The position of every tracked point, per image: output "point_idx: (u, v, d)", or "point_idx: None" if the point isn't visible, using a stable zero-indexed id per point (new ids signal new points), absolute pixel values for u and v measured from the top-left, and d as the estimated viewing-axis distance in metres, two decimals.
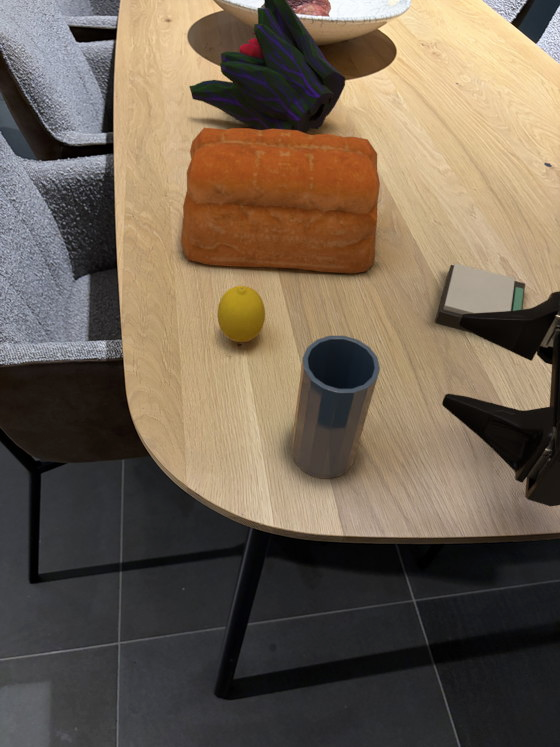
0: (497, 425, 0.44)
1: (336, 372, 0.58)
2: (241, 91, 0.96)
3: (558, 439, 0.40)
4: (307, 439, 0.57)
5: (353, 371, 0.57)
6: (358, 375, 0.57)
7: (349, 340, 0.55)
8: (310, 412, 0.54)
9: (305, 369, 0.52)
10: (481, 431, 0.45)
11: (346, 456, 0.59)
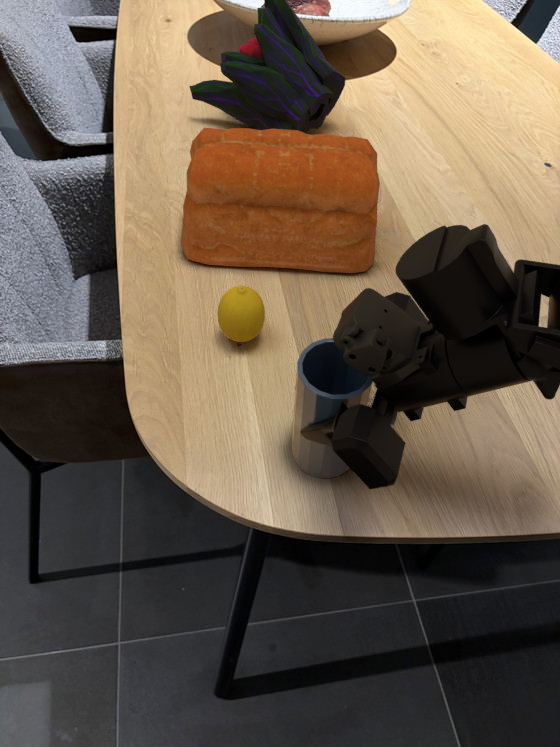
0: None
1: (334, 373, 0.58)
2: (241, 91, 0.96)
3: None
4: (305, 441, 0.57)
5: (350, 373, 0.56)
6: (356, 377, 0.56)
7: None
8: (306, 416, 0.54)
9: (299, 374, 0.52)
10: None
11: None
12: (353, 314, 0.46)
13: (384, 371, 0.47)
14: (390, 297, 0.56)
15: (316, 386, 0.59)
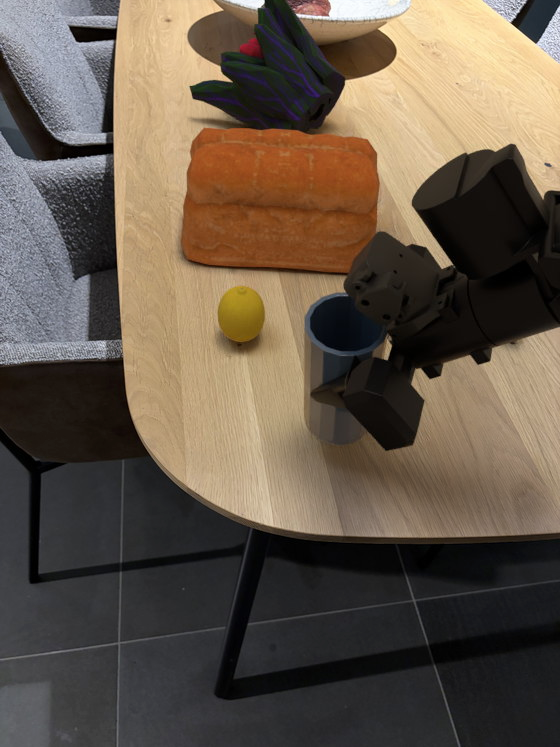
0: None
1: (347, 332, 0.54)
2: (241, 91, 0.96)
3: None
4: (315, 404, 0.54)
5: (365, 331, 0.52)
6: (370, 335, 0.52)
7: None
8: (314, 376, 0.50)
9: (306, 330, 0.48)
10: None
11: (358, 422, 0.55)
12: (365, 257, 0.42)
13: (400, 320, 0.43)
14: None
15: (328, 346, 0.55)
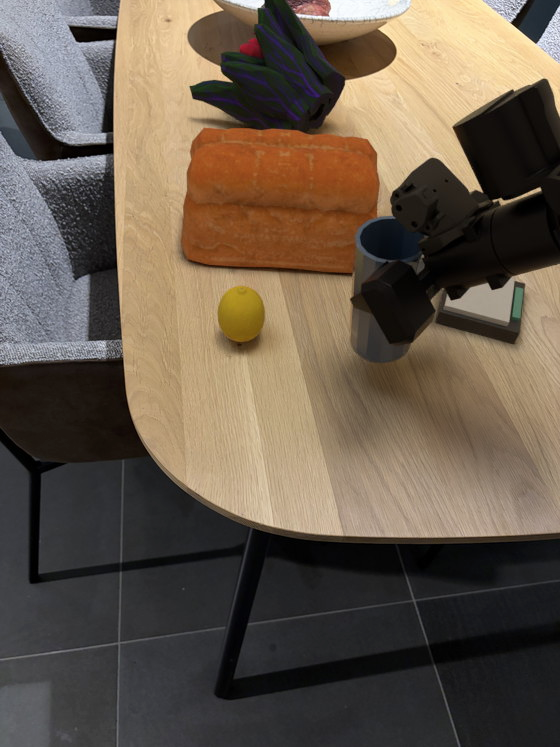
0: None
1: (400, 258, 0.60)
2: (241, 91, 0.96)
3: None
4: (355, 314, 0.61)
5: None
6: None
7: None
8: (356, 283, 0.58)
9: (355, 237, 0.55)
10: None
11: None
12: (411, 172, 0.49)
13: (428, 232, 0.49)
14: None
15: None
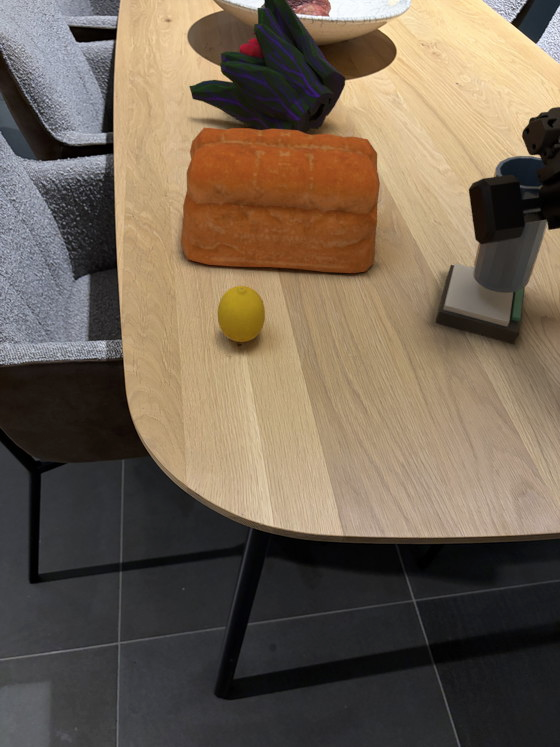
0: None
1: None
2: (241, 91, 0.96)
3: None
4: None
5: None
6: None
7: None
8: None
9: (500, 162, 0.66)
10: None
11: (500, 268, 0.70)
12: (553, 108, 0.58)
13: (544, 158, 0.58)
14: None
15: None
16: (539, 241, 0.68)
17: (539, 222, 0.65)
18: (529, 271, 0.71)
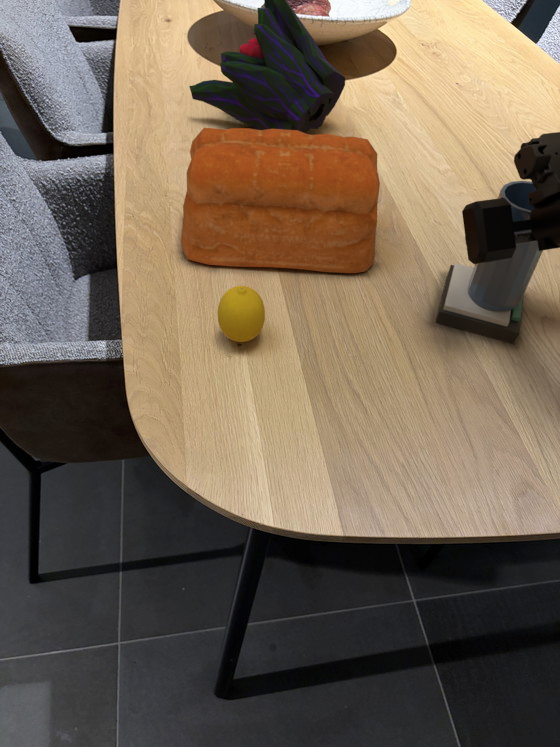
0: None
1: None
2: (241, 91, 0.96)
3: None
4: None
5: None
6: None
7: None
8: None
9: (504, 185, 0.68)
10: None
11: (496, 287, 0.72)
12: (544, 134, 0.60)
13: (535, 182, 0.60)
14: None
15: None
16: (535, 264, 0.70)
17: None
18: (522, 292, 0.73)
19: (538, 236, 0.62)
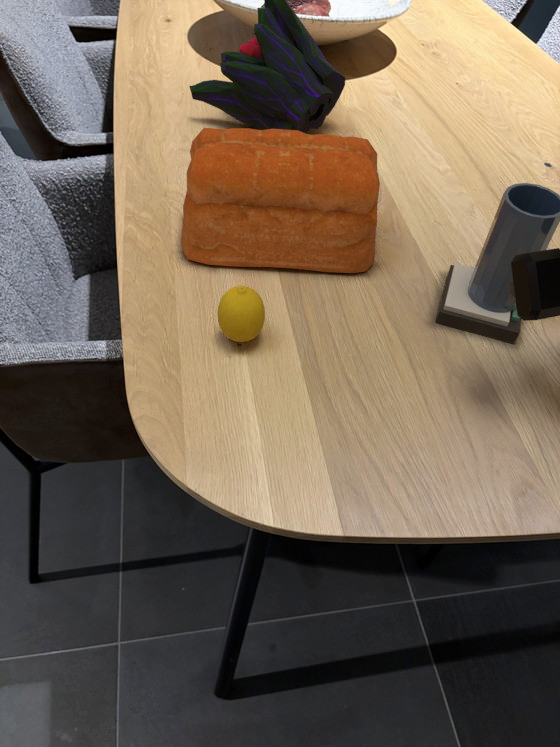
0: None
1: None
2: (241, 91, 0.96)
3: None
4: (480, 255, 0.73)
5: None
6: None
7: (558, 197, 0.67)
8: (491, 226, 0.70)
9: (508, 187, 0.68)
10: None
11: (496, 289, 0.72)
12: None
13: None
14: None
15: None
16: None
17: (539, 249, 0.68)
18: None
19: None
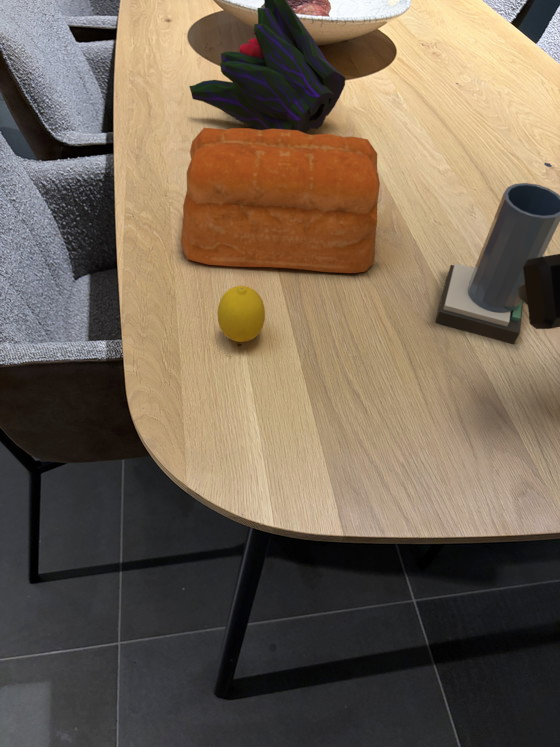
0: None
1: None
2: (241, 91, 0.96)
3: None
4: (480, 255, 0.73)
5: None
6: None
7: (558, 197, 0.67)
8: (491, 226, 0.70)
9: (508, 187, 0.68)
10: None
11: (496, 289, 0.72)
12: None
13: None
14: None
15: None
16: None
17: (539, 249, 0.68)
18: None
19: None
